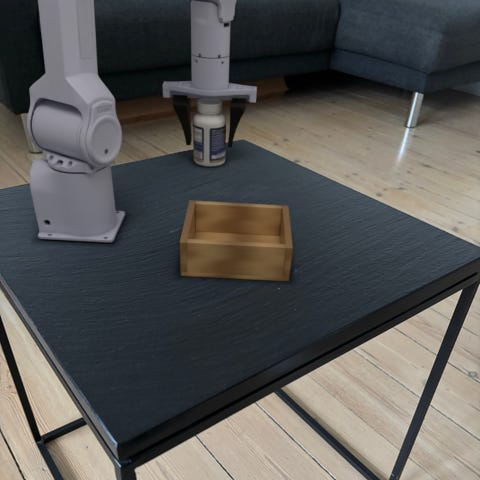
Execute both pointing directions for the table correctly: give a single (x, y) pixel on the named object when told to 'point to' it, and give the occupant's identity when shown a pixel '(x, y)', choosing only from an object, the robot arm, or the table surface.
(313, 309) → the table surface
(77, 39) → the robot arm
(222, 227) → the bin
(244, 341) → the table surface
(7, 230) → the table surface
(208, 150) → the pill bottle
